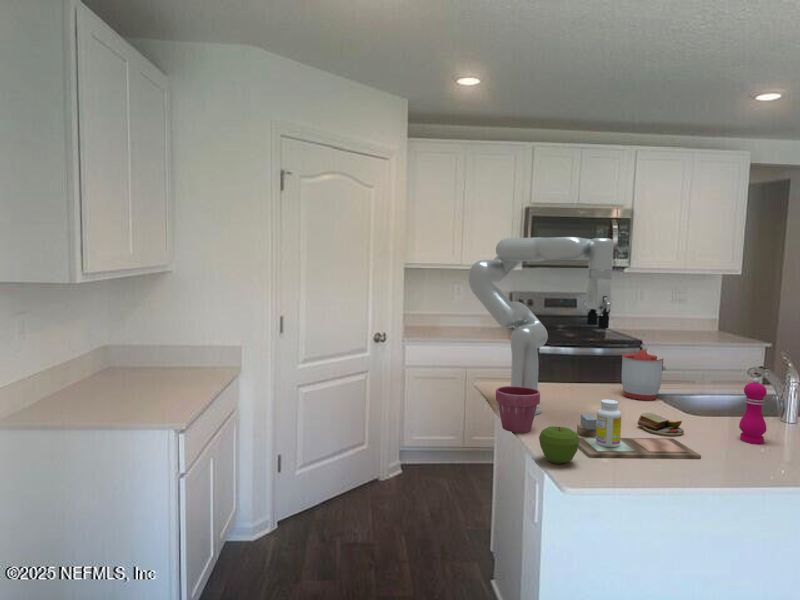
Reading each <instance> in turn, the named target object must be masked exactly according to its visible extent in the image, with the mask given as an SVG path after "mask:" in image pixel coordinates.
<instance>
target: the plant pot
mask: <svg viewBox="0 0 800 600" xmlns="http://www.w3.org/2000/svg"><path fill="white" fill-rule="evenodd" d="M495 401H496V403H497V402H498V404H497V405H498V411H499V416H500V421H501V426H502V429H503V430H505V431H507V432H509V433H510V432H511V433H516V434H517V433H518V434H522V433H523V434H524V433H525V434H526V433H529V432H531V430H532V426H533V422H534V419H535V416H536V415H535V411H536V407H537V406H538V405H539V404H540V403H541V391H539V390H536V389H533V388H528V387H519V386H511V385H508V386H507V385H505V386H499V387H497V388H496V389H495Z"/></svg>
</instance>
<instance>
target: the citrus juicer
mask: <svg viewBox="0 0 800 600" xmlns="http://www.w3.org/2000/svg"><path fill="white" fill-rule="evenodd" d="M621 357H622V362H621V385H622V390H623V393H624V395H625V396H626V397H627V398H630V399H633V400H635V399H638V400H642V401H643V400H645V401H654V400H655V399H656V398H657V396H658V395H659V391H660V388H661V385H662V374H663V371H667V367H666V366H664V358H661V359H660V358H659V359H658V355H654V354H649V353H648V352H647V351H646V350H645V349H644V348H642V349H640V350H639V351H638V352H636V353H623V354H622V355H621ZM653 399H654V400H653Z"/></svg>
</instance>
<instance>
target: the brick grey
mask: <svg viewBox="0 0 800 600" xmlns="http://www.w3.org/2000/svg"><path fill="white" fill-rule="evenodd" d="M579 425H583V426H584V427H585V428H586V429H596V426H597V418H595V417H593V416H592V415H591V414H583V413H582V414H580V424H579Z"/></svg>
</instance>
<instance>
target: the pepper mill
mask: <svg viewBox="0 0 800 600" xmlns="http://www.w3.org/2000/svg"><path fill="white" fill-rule="evenodd" d="M767 393H768V392H767V388H766V386H765V385H763V384H761V383H760V379H759V378H757V377H754V378H753V379H752V382H748V383H747V384H746V385H745V386H744V387H743V394H745V396H746V397H744V399H745V400H744V401H745V403H746V407H745V411H744V414H743V415H742V417H741V419H740V421H739V424H738V425H739V426H738V428H739V430H740V432H741V433H740V436H739V439H740V441H742V442H744V443H749V444H755V445H762V444H764V441H765V440H764V439H765V437H764V436H763V435H764V434H765V433H766V432H767V423H766V420H765V419H764V416H763V411H762V409H763V405H764V404H765V397H766V396H767Z"/></svg>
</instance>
